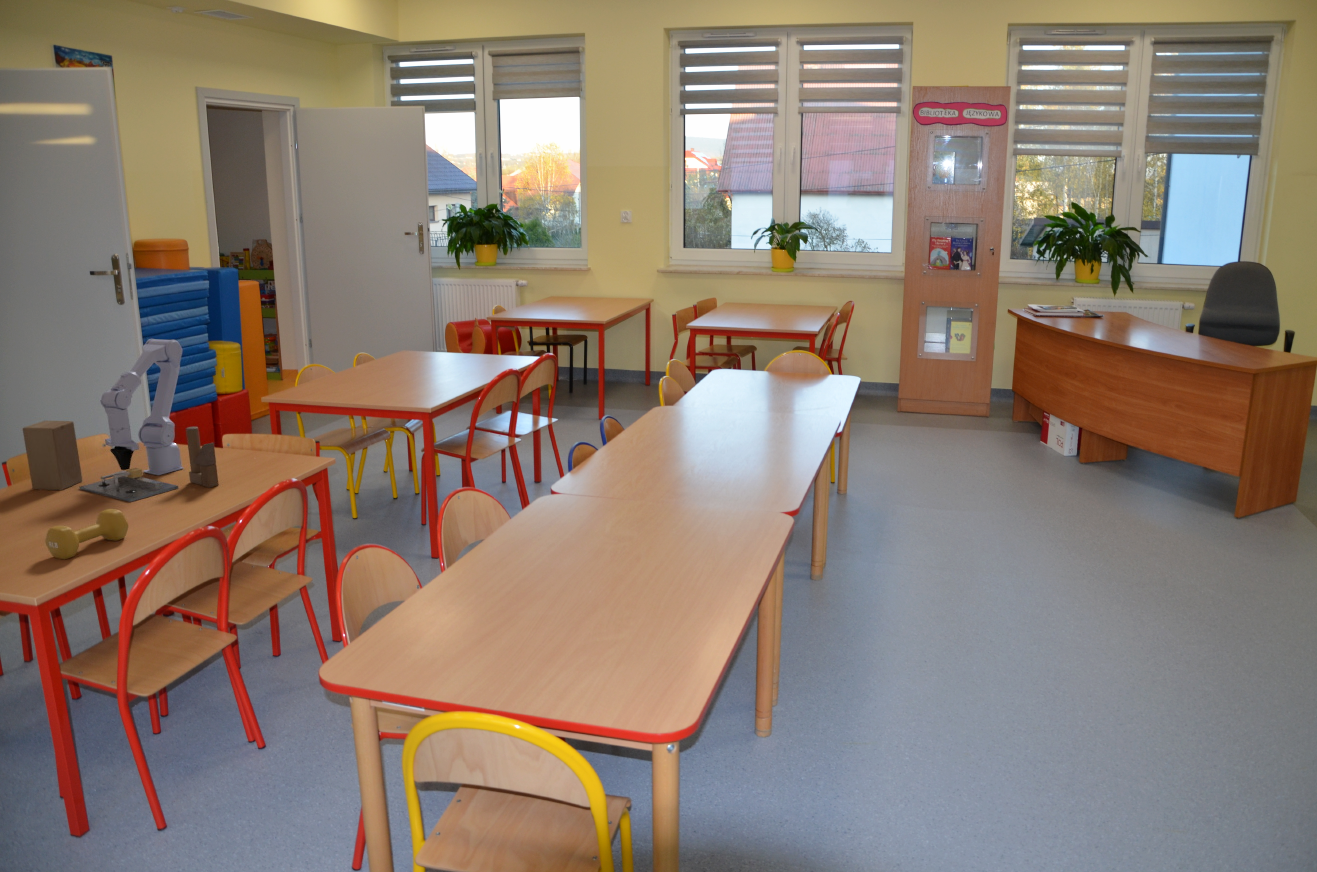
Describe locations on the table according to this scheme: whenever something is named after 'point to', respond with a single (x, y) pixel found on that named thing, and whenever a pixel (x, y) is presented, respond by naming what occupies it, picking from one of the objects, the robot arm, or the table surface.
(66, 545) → the dumbbell
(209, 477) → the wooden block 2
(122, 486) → the hole plate
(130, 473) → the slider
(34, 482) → the wooden block
